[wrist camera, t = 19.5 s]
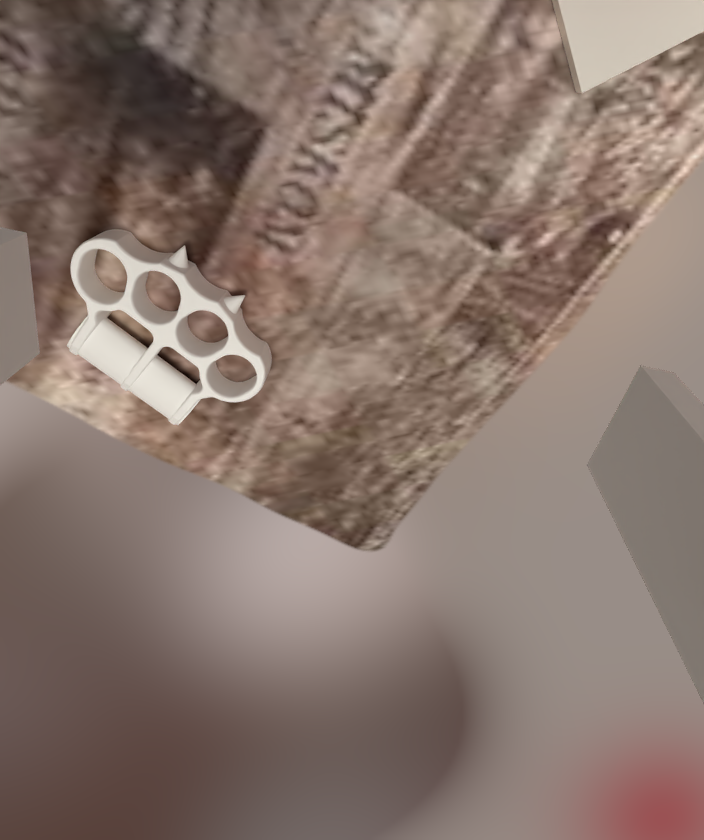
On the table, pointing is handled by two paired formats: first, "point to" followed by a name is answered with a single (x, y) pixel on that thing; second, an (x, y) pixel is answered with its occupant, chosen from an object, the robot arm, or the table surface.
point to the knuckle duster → (161, 328)
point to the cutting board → (621, 34)
